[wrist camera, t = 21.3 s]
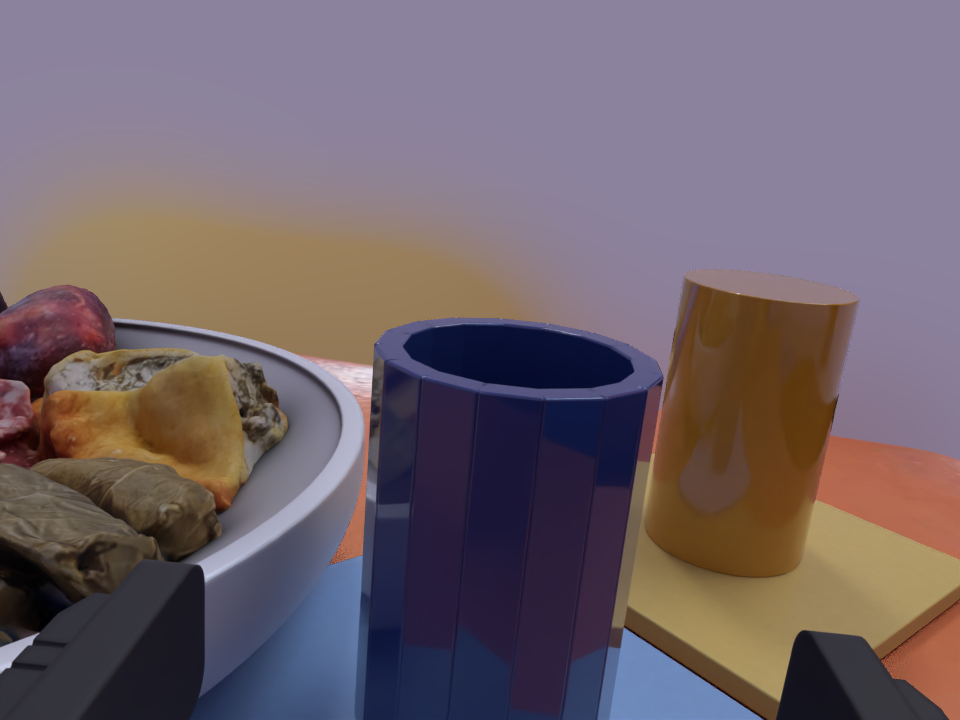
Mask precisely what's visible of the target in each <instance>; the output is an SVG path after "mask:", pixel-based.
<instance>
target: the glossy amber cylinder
mask: <svg viewBox="0 0 960 720" xmlns="http://www.w3.org/2000/svg"><path fill="white" fill-rule="evenodd" d="M859 302H860V299H859V297H858V296H856V295H855V294H853V293H851V292H848V291H846V290H844V289H840V288H837V287H834V286H830V285H827V284H822V283H818V282H814V281H809V280H804V279H799V278H793V277H787V276H781V275H774V274H767V273H758V272H750V271H739V270H722V269H702V270H693V271H689V272H686V273H685V274H684V275H683V281H682V287H681V294H680V300H679V306H678V313H677V319H676V325H675V331H674V337H673V343H672V350H671V356H670V362H669V369H668V375H667V381H666V387H665V393H664V400H663V406H662V412H661V418H660V425H659V431H658V437H657V443H656V449H655V456H654V462H653V468H652V474H651V481H650V487H649V493H648V499H647V506H646V512H645V518H644V526H645V529H646V532H647V533H648V535H649V537H650V538H651V539H652V540H653V541H654V542H655V543H656V544H657V545H658V546H659V547H661V548H662V549H664V550H665V551H666V552H668V553H670V554H671V555H673V556H675V557H677V558H679V559H681V560H683V561H685V562H687V563H690V564H692V565H695V566H698V567H700V568H703V569H707V570H710V571H714V572H718V573H723V574H727V575H734V576H742V577H771V576H778V575H781V574H785V573H788V572H790V571H792V570H793V569H795V568H796V567H797V566H798V565H799V564H800V563H801V561H802V558H803V554H804V549H805V545H806V540H807V536H808V531H809V527H810V522H811V518H812V513H813V509H814V504H815V500H816V495H817V491H818V486H819V482H820V477H821V473H822V468H823V464H824V459H825V455H826V450H827V446H828V441H829V437H830V432H831V428H832V423H833V419H834V414H835V409H836V405H837V401H838V397H839V392H840V387H841V383H842V378H843V374H844V370H845V365H846V361H847V356H848V352H849V347H850V342H851V338H852V334H853V329H854V325H855V320H856V315H857V311H858V307H859Z"/></svg>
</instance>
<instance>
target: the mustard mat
mask: <svg viewBox="0 0 960 720" xmlns="http://www.w3.org/2000/svg"><path fill="white" fill-rule="evenodd" d="M654 456H655V453H652V454H651V460H650V466H649V472H648V479H647V485H646V491H645V497H644V504H643V510H642V516H641V523H640V529H639V535H638V542H637V548H636V554H635V560H634V567H633V573H632V579H631V586H630V592H629V598H628V604H627V611H626V617H625V623H624V626H626V627H627V628H629V629H630V630H632V631H634V632H635V633H637V634H638V635H640V636H641V637H643V638H644V639H646V640H647V641H649V642H650V643H652V644H653V645H655V646H656V647H658V648H659V649H661V650H662V651H664V652H665V653H667V654H668V655H670V656H671V657H673V658H675V659H676V660H678V661H679V662H681V663H682V664H684V665H685V666H687V667H688V668H690V669H691V670H693V671H694V672H696V673H697V674H699V675H700V676H702V677H703V678H705V679H706V680H708V681H709V682H711V683H713V684H714V685H716V686H717V687H719V688H720V689H722V690H723V691H725V692H726V693H728V694H729V695H731V696H732V697H734V698H735V699H737V700H738V701H740V702H741V703H743V704H744V705H746V706H747V707H749V708H750V709H752V710H754V711H755V712H757V713H758V714H760V715H761V716H763V717H764V718H766V719H767V720H776V717H777V712H778V708H779V703H780V699H781V695H782V690H783V686H784V682H785V677H786V673H787V669H788V664H789V660H790V656H791V651H792V647H793V643H794V640H795V638H796V636H797V635H798V633H799V632H800V631H802V630H809V631H819V632H828V633H838V634H847V635H857V636H861V637H863V638H864V639H865V640H866V641H867V642H868V643H869V645H870V646H871V648H872V649H873V651H874V652H875V653H876V655H877V656H878V658H879V659H882V658H883V657H884V656H886V655H887V654H888V653H890V652H891V651H892V650H894V649H895V648H896V647H898V646H899V645H900V644H901V643H903V642H904V641H905V640H907V639H908V638H909V637H911V636H912V635H913V634H915V633H916V632H917V631H919V630H920V629H921V628H923V627H924V626H925V625H926V624H928V623H929V622H930V621H932V620H933V619H934V618H936V617H937V616H938V615H940V614H941V613H942V612H944V611H945V610H946V609H947V608H949V607H950V606H951V605H953V604H954V603H955V602H957V601H958V600H959V599H960V560H959V559H956V558H954V557H952V556H949V555H947V554H944V553H942V552H940V551H937V550H935V549H933V548H930V547H928V546H925V545H923V544H921V543H918V542H916V541H913V540H911V539H909V538H906V537H904V536H901V535H899V534H897V533H894V532H892V531H890V530H887V529H885V528H882V527H880V526H878V525H875V524H873V523H870V522H868V521H866V520H863V519H861V518H858V517H856V516H854V515H851V514H849V513H847V512H844V511H842V510H839V509H837V508H835V507H832V506H830V505H827V504H825V503H823V502H820V501H818V500H815V504H814V509H813V513H812V518H811V522H810V527H809V531H808V536H807V540H806V545H805V549H804V554H803V558H802V561H801V563H800V564H799V565H798V566H797V567H796V568H795V569H793V570H792V571H790V572H788V573H785V574H781V575H778V576H771V577H742V576H734V575H727V574H723V573H718V572H714V571H710V570H707V569H703V568H700V567H698V566H695V565H692V564H690V563H687V562H685V561H683V560H681V559H679V558H677V557H675V556H673V555H671V554H670V553H668V552H666V551H665V550H664V549H662V548H661V547H659V546H658V545H657V544H656V543H655V542H654V541H653V540H652V539H651V538H650V537H649V535H648V533H647V532H646V529H645V526H644V518H645V512H646V506H647V499H648V493H649V487H650V481H651V474H652V468H653V462H654Z"/></svg>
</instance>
